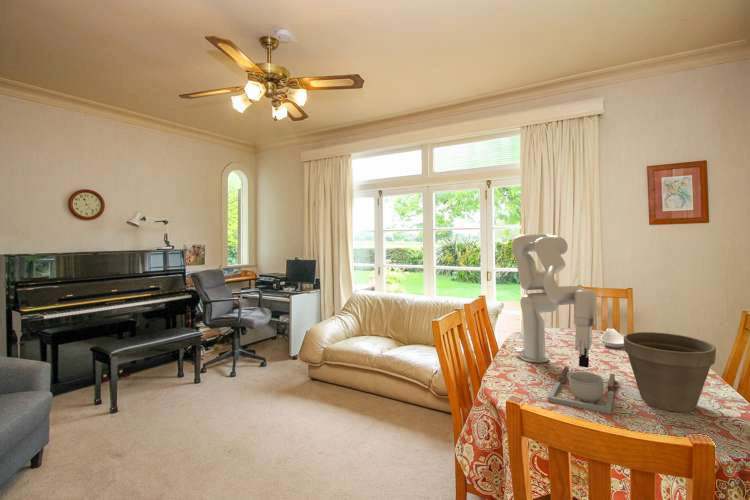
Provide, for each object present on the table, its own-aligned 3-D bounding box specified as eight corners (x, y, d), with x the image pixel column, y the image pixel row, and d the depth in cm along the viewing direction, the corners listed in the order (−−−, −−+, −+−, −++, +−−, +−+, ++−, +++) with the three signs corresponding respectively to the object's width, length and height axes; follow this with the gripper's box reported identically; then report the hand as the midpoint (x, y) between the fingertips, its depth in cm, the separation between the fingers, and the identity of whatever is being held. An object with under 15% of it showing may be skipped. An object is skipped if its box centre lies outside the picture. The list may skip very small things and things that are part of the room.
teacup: (610, 404, 128) (610, 381, 128) (580, 406, 127) (579, 382, 127) (586, 388, 142) (585, 367, 141) (558, 390, 141) (558, 369, 141)
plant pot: (726, 428, 110) (725, 355, 110) (626, 410, 123) (625, 345, 123) (707, 397, 131) (706, 336, 131) (623, 384, 144) (622, 329, 144)
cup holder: (558, 383, 147) (558, 377, 147) (564, 372, 159) (564, 366, 159) (612, 393, 137) (612, 386, 137) (614, 380, 149) (614, 374, 149)
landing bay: (547, 401, 132) (547, 397, 132) (556, 385, 145) (556, 381, 145) (610, 414, 121) (610, 409, 121) (613, 395, 134) (613, 391, 134)
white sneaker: (629, 351, 187) (628, 336, 187) (602, 348, 192) (601, 335, 192) (621, 339, 209) (620, 326, 209) (596, 337, 214) (596, 325, 214)
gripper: (576, 315, 154) (575, 358, 156) (570, 323, 142) (570, 370, 143) (597, 318, 150) (596, 362, 151) (593, 326, 138) (592, 374, 139)
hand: (583, 366), depth 147 cm, fingers closed
